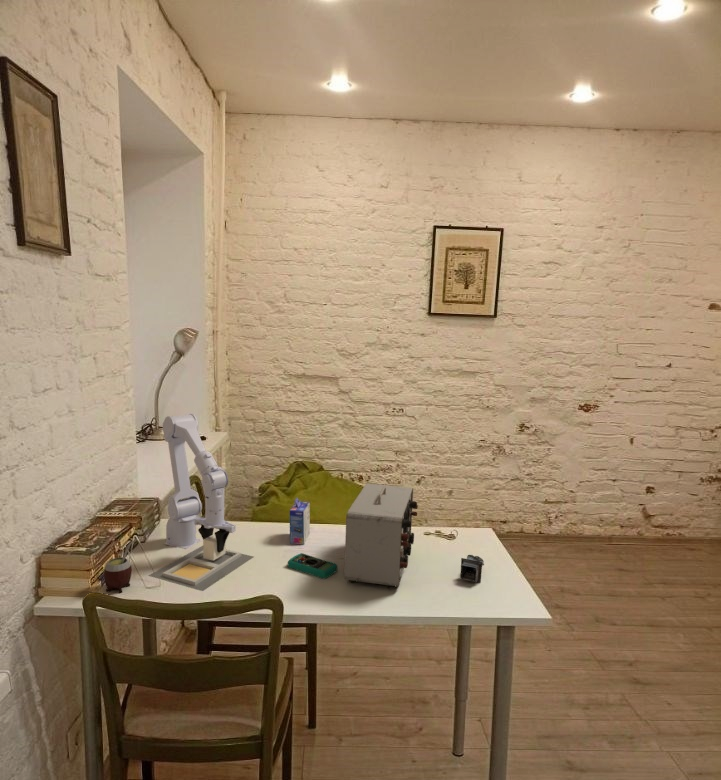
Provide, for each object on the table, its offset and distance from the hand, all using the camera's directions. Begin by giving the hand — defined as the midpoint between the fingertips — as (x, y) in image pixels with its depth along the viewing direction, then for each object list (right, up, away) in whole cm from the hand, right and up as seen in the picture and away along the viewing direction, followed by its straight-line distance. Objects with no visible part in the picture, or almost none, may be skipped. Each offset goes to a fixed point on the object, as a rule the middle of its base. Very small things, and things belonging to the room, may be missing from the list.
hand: (214, 549), depth 169 cm
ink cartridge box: (+25, -2, +20) cm, 32 cm away
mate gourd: (-21, -5, -19) cm, 29 cm away
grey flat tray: (-2, -4, -4) cm, 6 cm away
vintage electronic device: (+53, -6, +1) cm, 54 cm away
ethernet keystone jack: (+81, -7, -3) cm, 82 cm away
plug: (0, -2, 0) cm, 2 cm away
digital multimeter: (+31, -6, -2) cm, 32 cm away
